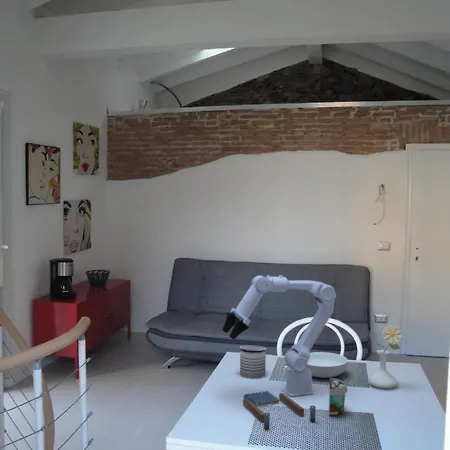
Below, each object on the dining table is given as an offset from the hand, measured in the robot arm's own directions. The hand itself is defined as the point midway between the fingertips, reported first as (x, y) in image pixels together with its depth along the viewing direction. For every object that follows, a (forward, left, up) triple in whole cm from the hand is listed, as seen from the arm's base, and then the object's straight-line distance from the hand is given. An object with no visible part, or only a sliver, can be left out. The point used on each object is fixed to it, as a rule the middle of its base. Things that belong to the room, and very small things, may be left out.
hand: (227, 334), depth 197 cm
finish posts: (-11, +30, -24) cm, 40 cm away
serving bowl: (-48, -11, -24) cm, 55 cm away
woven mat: (-11, +7, -25) cm, 28 cm away
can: (-20, -21, -24) cm, 38 cm away
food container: (-32, +26, -24) cm, 47 cm away
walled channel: (-11, +17, -24) cm, 31 cm away
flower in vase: (-64, +10, -24) cm, 69 cm away
